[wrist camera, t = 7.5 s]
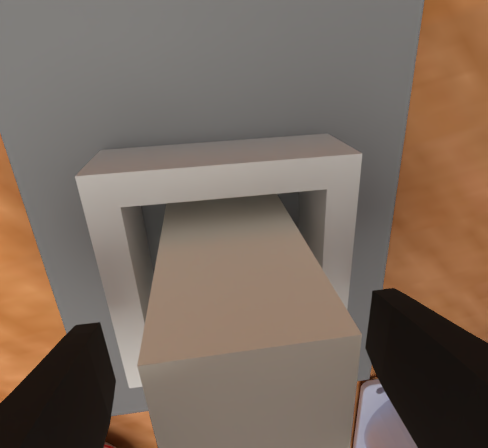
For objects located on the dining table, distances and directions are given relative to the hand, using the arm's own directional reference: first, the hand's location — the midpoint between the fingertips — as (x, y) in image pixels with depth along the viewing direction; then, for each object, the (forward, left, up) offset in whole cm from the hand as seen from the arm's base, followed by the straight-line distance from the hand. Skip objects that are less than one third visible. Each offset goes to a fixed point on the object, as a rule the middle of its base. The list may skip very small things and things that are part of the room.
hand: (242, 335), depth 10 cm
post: (0, 0, -5) cm, 5 cm away
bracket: (0, 0, -6) cm, 6 cm away
